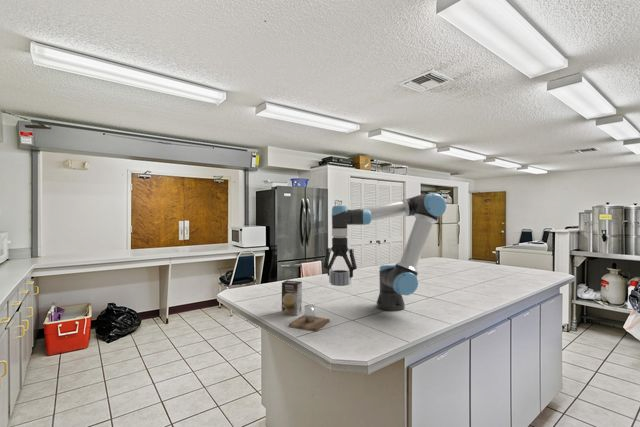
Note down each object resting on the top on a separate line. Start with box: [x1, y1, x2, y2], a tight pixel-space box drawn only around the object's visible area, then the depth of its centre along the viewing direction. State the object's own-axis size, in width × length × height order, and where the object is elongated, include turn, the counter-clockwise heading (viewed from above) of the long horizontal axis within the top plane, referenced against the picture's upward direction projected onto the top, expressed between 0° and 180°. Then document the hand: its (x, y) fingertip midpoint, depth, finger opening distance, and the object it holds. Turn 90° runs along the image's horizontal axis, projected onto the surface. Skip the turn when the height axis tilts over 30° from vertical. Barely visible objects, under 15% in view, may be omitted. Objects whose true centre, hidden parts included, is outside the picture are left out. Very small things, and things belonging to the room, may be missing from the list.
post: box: [304, 304, 315, 323], centre depth 144 cm, size 4×4×7 cm
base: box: [288, 314, 330, 332], centre depth 144 cm, size 14×14×1 cm
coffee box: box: [281, 279, 303, 316], centre depth 161 cm, size 9×6×16 cm
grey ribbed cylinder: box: [330, 269, 349, 287], centre depth 152 cm, size 9×9×6 cm
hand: (340, 283), depth 152 cm, fingers closed on grey ribbed cylinder, 9 cm apart
